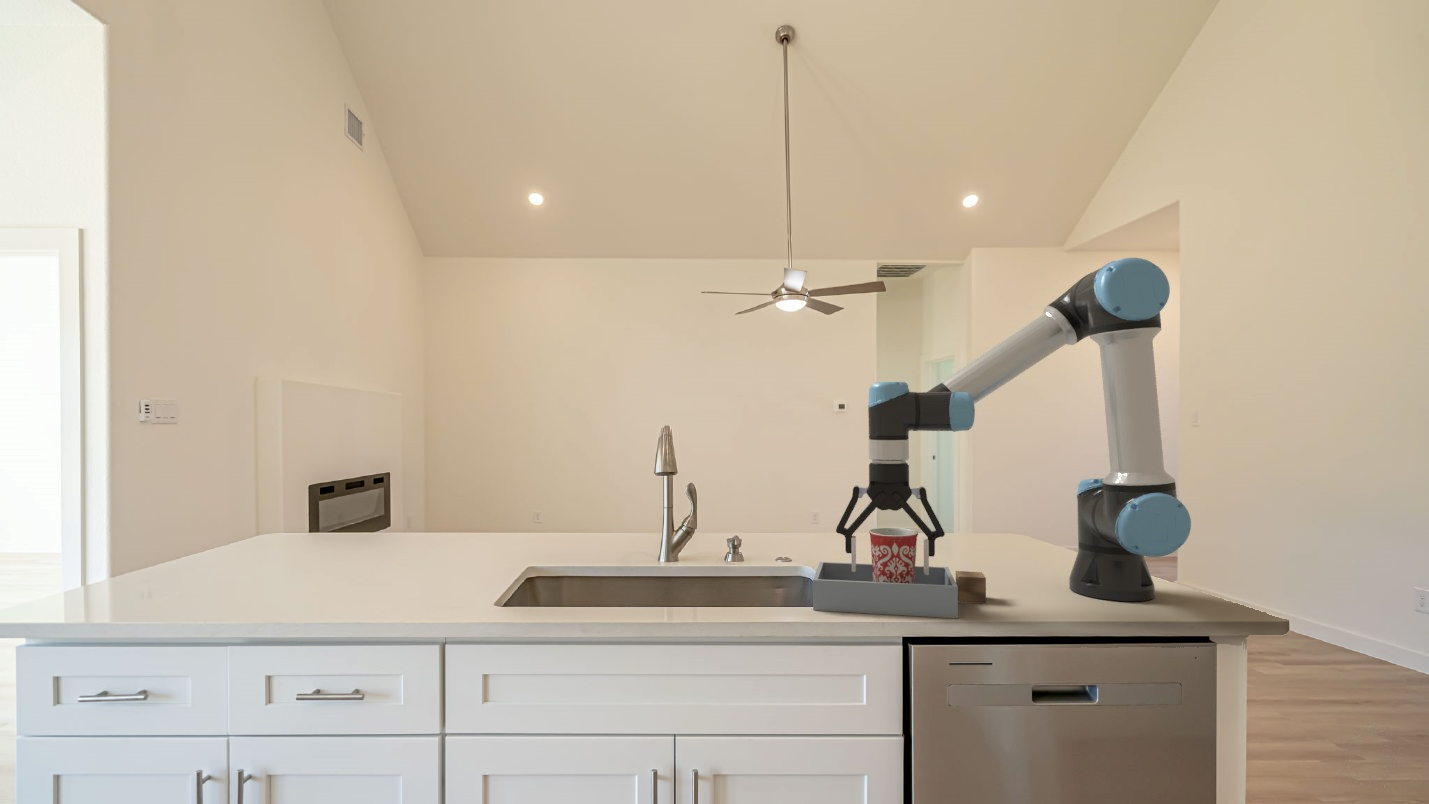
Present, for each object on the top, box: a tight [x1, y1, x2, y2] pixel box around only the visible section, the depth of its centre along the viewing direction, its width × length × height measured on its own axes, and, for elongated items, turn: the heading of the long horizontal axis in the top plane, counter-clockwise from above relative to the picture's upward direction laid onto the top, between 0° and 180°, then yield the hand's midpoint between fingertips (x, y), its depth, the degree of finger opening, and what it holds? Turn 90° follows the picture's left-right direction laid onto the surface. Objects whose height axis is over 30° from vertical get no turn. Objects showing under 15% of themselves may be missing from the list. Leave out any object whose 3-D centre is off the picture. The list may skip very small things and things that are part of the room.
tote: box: [812, 561, 959, 619], centre depth 137 cm, size 26×17×6 cm, turn 77°
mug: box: [868, 527, 919, 584], centre depth 137 cm, size 13×9×14 cm
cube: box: [955, 570, 987, 604], centre depth 139 cm, size 5×5×5 cm
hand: (889, 572), depth 137 cm, fingers open, 13 cm apart
